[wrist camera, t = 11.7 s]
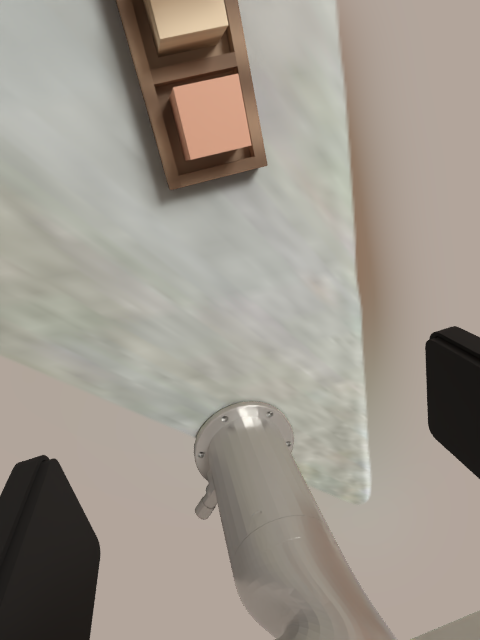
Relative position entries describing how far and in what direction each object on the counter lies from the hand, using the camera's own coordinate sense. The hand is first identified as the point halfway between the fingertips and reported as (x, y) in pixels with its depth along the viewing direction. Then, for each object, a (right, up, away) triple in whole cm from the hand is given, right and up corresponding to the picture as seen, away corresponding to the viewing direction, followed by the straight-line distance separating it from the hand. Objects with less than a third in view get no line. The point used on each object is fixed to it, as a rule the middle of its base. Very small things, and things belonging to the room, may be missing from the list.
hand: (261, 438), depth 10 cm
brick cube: (-4, +20, +25) cm, 32 cm away
